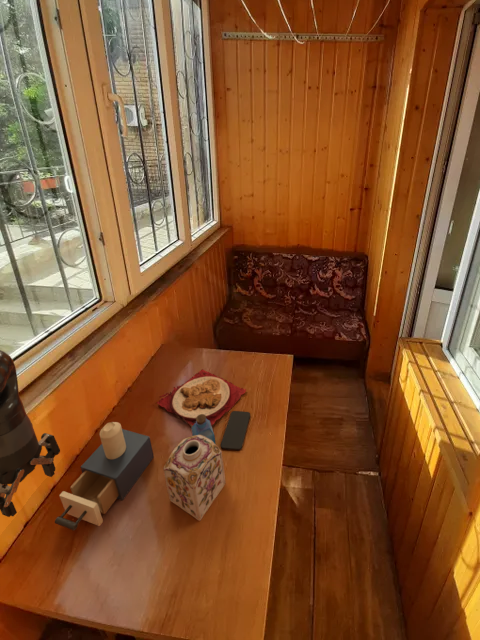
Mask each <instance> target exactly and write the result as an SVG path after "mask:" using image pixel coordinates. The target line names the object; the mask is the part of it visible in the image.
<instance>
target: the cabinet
mask: <svg viewBox="0 0 480 640" xmlns="http://www.w3.org/2000/svg"><path fill="white" fill-rule="evenodd" d="M122 432H123V436H124V440H125V443H126V450H125V452H124V453H123V454H122V455H121V456H120V457H118V458H116V459H108V458H107V457H106V455H105V452H104V449H103V445H102V443H101V444H100V445H99V446H98V447H97V448H96V449H95V450H94V452H92V454H91V455H90V456H89V457H88V458H87V459H86V460H85V461H84V462H83V463H82V464H81V466H80V470H81V474H82V473H83V472H84V471H85V470H87V471H90V472H93V473H96V474H99V475H102V476H105V477H108V478H111V479H114V480H115V483H116V486H117V490H118V493H119V496H118V497H117V499H116V500H119V501H122V502H123V501H124V499H126V497H127V495H128V494H129V493H130V491H131V490H132V488H133V487H134V486H135V484H136V483H137V481H138V480H139V479H140V477H141V476H142V474H143V473H144V471H145V470H146V469H147V467H148V466H149V465H150V463H151V462H152V461H153V460H154V458H155V456H154V455H155V454H154V451H153V447H152V442H151V437H150V436H149V435H146V434H142V433H138V432H134V431H131V430H128V429H125V428H122Z"/></svg>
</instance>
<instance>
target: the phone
mask: <svg viewBox="0 0 480 640" xmlns="http://www.w3.org/2000/svg"><path fill="white" fill-rule="evenodd" d="M250 419H251V413H250V412H249V411H242V410H241V411H240V410H233V411H231V412H230V414H229V418H228V421H227V424H226V427H225V430H224V433H223V436H222V439H221V442H220V449H221V450H227V451H228V450H229V451H241V450H242V449H243V446H244V441H245V438H246V434H247V430H248V426H249V423H250Z"/></svg>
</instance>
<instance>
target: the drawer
mask: <svg viewBox="0 0 480 640" xmlns="http://www.w3.org/2000/svg"><path fill="white" fill-rule="evenodd" d="M69 489H70V491H71V493H70V492H67V491H64V490H63V491H61V492H60V494H59V499H60V502H61V504H62V507H63V509H64V511H63V513H61V514H60V515H59V516H57V517H56V518H55V520H54V524H55V525H58V526H61V527H64V528H66V529H68V530H71V531H73V532H74V531H76V530H77V528H78V526H79V524H80V522H81V521H85V522H88V523H90V524H93V525H94V526H98V527H100V526H101V525H102V524H103V522H104V520H103V517H102V515H106V514H107V512H108V511H109V510H110V508H111V507H112V505H113V504H114V503H115V501H116V500H118V499H117V497H118V496H119V493H118V490H117V486H116V483H115V480H114V479H111V478H108V477H105V476H102V475H99V474H96V473H93V472H90V471H87V470H85V471H84V472H83V473H82V472H81V474H80V475H79V477H78V478H76V480H75V481H74V482H73V483H72V484H71V486H69ZM66 515H69V516H72V517H74V518H76V519H77V520H76V521H72V520H70V519H67V518H65V516H66Z"/></svg>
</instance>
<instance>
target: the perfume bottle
mask: <svg viewBox="0 0 480 640" xmlns="http://www.w3.org/2000/svg"><path fill="white" fill-rule="evenodd" d="M191 433H192V434H191V436H195V435H202V436H205V437H207V438H208V439H210V440H212V441H213V442H214V444H215V445H217V444H216V437H215V433H214V429H213V425H212V426H211V423H210V421H209V420H208V419H206V416H205V415H204V414H200V415H198V416H197V417H196V423H195V424H194V425H193V426H191Z"/></svg>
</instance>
